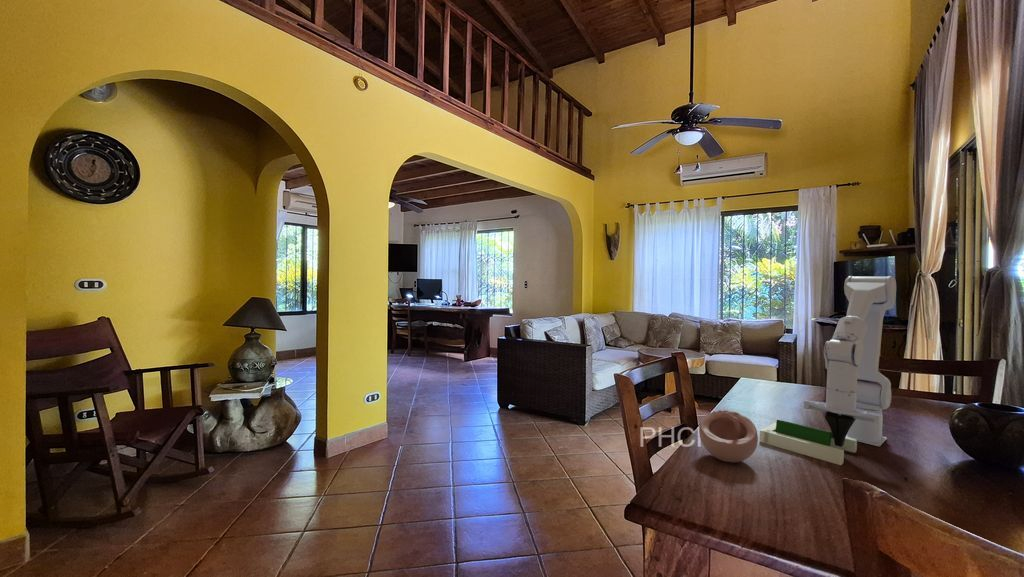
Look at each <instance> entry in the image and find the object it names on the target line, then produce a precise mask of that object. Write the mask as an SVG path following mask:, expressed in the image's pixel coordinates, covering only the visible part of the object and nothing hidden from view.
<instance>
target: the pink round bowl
mask: <svg viewBox="0 0 1024 577" xmlns="http://www.w3.org/2000/svg"><path fill="white" fill-rule="evenodd" d="M699 422H700V423H699V426H698V427H699V428H698V431H699V432H698V435H699V438H700V441H701V444H702V445H703V447H704V448H705V449H706V451H707V452H708V453H709V454H710V455H711V456H712V457H714V458H716V459H718V460H719V461H723V462H727V463H739V462H742V461H745V460H748V459H749V458H750V457H751V456H752V455H753V454H754V453H755V451H756V449H757V448H758V447H757V446H758V441H759V438H758V436H759V435H758V431H757V428H756V424H755V423H754V422H753V421H752V420H751V419H750V418H748V417H747V416H745V415H743V414H740V413H739V412H737V411H729V410H726V409H724V410H722V409H721V410H720V409H719V410H714V411H712V412H710V413H707V414H706V415H704V416H703V418H702V419H701V420H700V421H699Z"/></svg>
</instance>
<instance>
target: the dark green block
mask: <svg viewBox="0 0 1024 577" xmlns="http://www.w3.org/2000/svg"><path fill="white" fill-rule="evenodd" d="M775 432H777V433H781V434H785V435H788V436H792V437H796V438H800V439H803V440H807V441H811V442H815V443H818V444H822V445H826V446H830V445H831V438H834V437H833V434H832V431H829V430H824V429H820V428H815V427H811V426H808V425H803V424H798V423H794V422H790V421H787V420H786V421H785V420H782V419H776V431H775ZM830 447H831V446H830Z"/></svg>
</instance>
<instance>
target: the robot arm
mask: <svg viewBox="0 0 1024 577" xmlns="http://www.w3.org/2000/svg"><path fill="white" fill-rule="evenodd" d="M843 285H844V286H843V289H844V290H843V291H844V295H845V296H846V299H847V300H848V305H847V311H846V316H843V317H841V318H840V319H838V322H837V325H836V327H835V331H834V332H833V335H832V337H831V338H830V340H826V341H825V343H824V347H823V359H824V367H825V370H826V392H825V393H826V394H825V398H826V399H825V402H822V401H818V400H817V401H816V400H809V399H806V400H804V401H803V409H805V410H814V411H817V412H822V413H825V415H824V418H825V421H826V422H827V424H828V426H829V428H830V432H832V434H833V437H834V442H835V445H836V446H840V447H842V446H843V445H844V441H845V437H846V436H847V437H851V438H855V439H857V443H858V442H859V443H864V444H867V445H872V446H876V447H881V446H882V445H883V444H884V442H885V441H886V440H887V439H888V438H887V437H886V436H883V420H884V418H883V416H884V415H883V410H886V409H888V408H890V406H891V403H892V388H891V387H892V383H891V380H890V379H889V378H888V377H886V376H885V375H883V374H882V373H881V372H880V371H879V366H880V365H879V364H880V355H881V354H880V352H881V343H882V333H883V324H884V323H883V322H884V317H885V314H886V311H888V310H892V309H894V307H895V304H896V297H897V281H896V278H895V277H894V276H893V275H888V276H864V275H863V276H853V275H849V276H847V277H846V278H845V280H844V284H843Z"/></svg>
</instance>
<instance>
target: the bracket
mask: <svg viewBox="0 0 1024 577" xmlns="http://www.w3.org/2000/svg"><path fill="white" fill-rule="evenodd" d="M776 422H777V421H776ZM776 422H773V423H772V424H769V425H767V426H766V427H764V428H761V429H760V430H759V443H763V444H767V445H769V446H773V447H777V448H779V449H783V450H786V451H790V452H792V453H793V452H794V453H797V454H801V455H805V456H808V457H811V458H815V459H818V460H821V461H825V462H828V463H832V464H835V465H838V466H842V465H843V464H844V458H845V451H846V452H849V453H855V454H856V452H857V450H858V449H857V448H858V441H857V439H855V438H851V437H847V436H846V437H845V441H844V445H843V446H842V447H840V446H836V445H835V442H834V438H831V445H830V446H826V445H822V444H818V443H815V442H811V441H807V440H803V439H800V438H796V437H792V436H788V435H785V434H781V433H777V432H775V431H776Z"/></svg>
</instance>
